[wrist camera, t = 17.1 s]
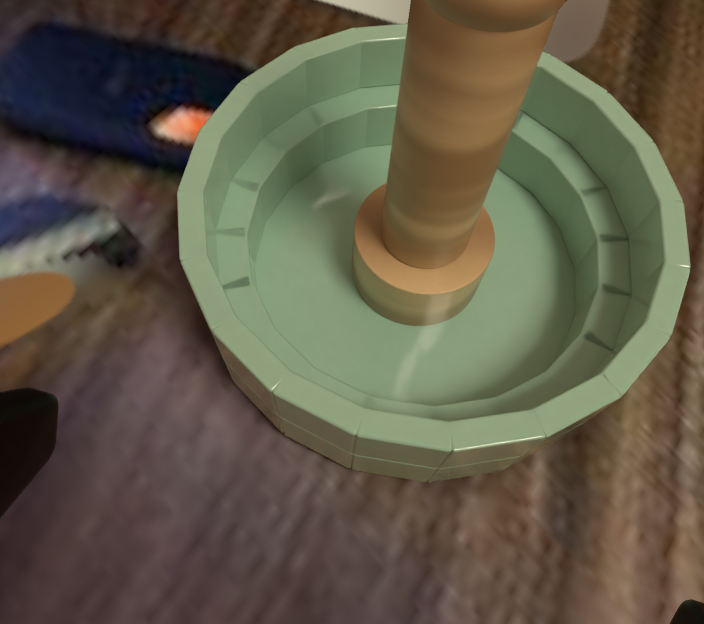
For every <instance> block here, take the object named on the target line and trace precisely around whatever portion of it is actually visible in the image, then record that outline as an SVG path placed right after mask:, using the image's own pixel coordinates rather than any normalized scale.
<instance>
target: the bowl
mask: <svg viewBox="0 0 704 624" xmlns="http://www.w3.org/2000/svg"><path fill="white" fill-rule="evenodd" d="M407 27H408V23H407V24H394V25H382V26H370V27H357V28H356V29H355V28H351V29H348V30H345V31H342V32H338V33H335V34H332V35H329V36H326V37H323V38H320V39H317V40H314V41H311V42H308V43H304V44H301V45H298V46H295V47H293V48H291V49H290V50H288V51H287V52H285V53H284V54H282V55H281V56H279V57H277V58H276V59H274V60H273V61H271V62H270V63H268V64H267V65H265V66H264V67H262V68H260V69H259V70H257V71H256V72H254V73H253V74H251V75H250V76H248V77H247V78H245V79H243V80H242V81H241V82H240V83H238V84H237V86H236V87H235V88H234V89H233V90H232V92H231V93H230V94H229V95H228V96H227V98H226V99H225V100H224V101H223V103H222V104H221V105H220V106H219V107H218V109H217V110H216V111H215V112H214V113H213V115H212V116H211V117H210V118H209V119H208V121H207V122H206V123H205V124H204V125H203V127H202V128H201V129H200V131H199V132H198V135H197V138H196V141H195V143H194V146H193V149H192V152H191V155H190V157H189V160H188V163H187V166H186V169H185V171H184V174H183V177H182V180H181V183H180V185H179V188H178V192H177V208H178V235H179V259H180V262H181V265H182V268H183V270H184V272H185V274H186V277H187V279H188V281H189V283H190V286H191V288H192V290H193V292H194V295H195V297H196V299H197V301H198V304H199V306H200V308H201V311H202V313H203V315H204V317H205V320H206V322H207V324H208V326H209V329H210V331H211V333H212V335H213V337H214V340H215V342H216V344H217V346H218V349H219V351H220V353H221V355H222V357H223V360H224V362H225V364H226V366H227V369H228V371H229V373H230V375H231V377H232V380H233V381H234V382H235V384H236V385H237V386H238V387H239V388H240V389H241V390H242V392H243V393H244V394H245V395H246V396H247V397H248V398H249V399H250V400H251V401H252V402H253V403H254V404H255V405H256V406H257V407H258V408H259V409H260V410H261V411H262V413H263V414H264V415H265V416H266V417H267V418H268V419H269V420H270V421H271V422H272V423H273V424H274V425H275V426H276V427H277V428H278V429H279V430H280V431H281V432H282V433H284V434H285V435H286V436H288V437H290V438H292V439H293V440H295V441H297V442H299V443H301V444H303V445H305V446H307V447H309V448H311V449H312V450H314V451H316V452H318V453H320V454H322V455H324V456H326V457H328V458H330V459H332V460H333V461H335V462H337V463H339V464H341V465H343V466H345V467H347V468H351V469H352V470H356V471H362V472H368V473H374V474H380V475H386V476H392V477H398V478H404V479H410V480H416V481H422V482H427V481H428V482H434V481H440V480H447V479H453V478H459V477H465V476H472V475H478V474H484V473H491V472H497V471H501V470H502V469H506V468H508V467H510V466H512V465H514V464H515V463H517V462H519V461H521V460H523V459H525V458H526V457H528V456H530V455H532V454H534V453H536V452H537V451H539V450H541V449H543V448H545V447H547V446H548V445H550V444H552V443H554V442H556V441H557V440H559V439H561V438H563V437H564V436H566V435H567V434H569V433H570V432H572V431H573V430H574V429H576V428H577V427H579V426H580V425H582V424H583V423H585V422H586V421H587V420H589V419H591V418H592V417H594V416H595V415H596V414H598V413H599V412H601V411H602V410H604V409H605V408H607V407H608V406H609V405H611V404H612V403H614V402H615V401H617V400H618V399H620V398H621V397H622V396H623V395H624V394H625V393H626V392H627V390H628V389H629V388H630V387H631V385H632V384H633V383H634V382H635V381H636V379H637V378H638V377H639V376H640V375H641V373H642V372H643V371H644V370H645V369H646V367H647V366H648V365H649V364H650V362H651V361H652V360H653V359H654V358H655V356H656V355H657V354H658V353H659V352H660V350H661V349H662V348H663V347H664V346H665V344H666V343H667V342H668V341H669V339H670V336H671V335H672V332H673V329H674V325H675V322H676V318H677V315H678V311H679V308H680V305H681V301H682V298H683V294H684V291H685V287H686V284H687V281H688V277H689V274H690V266H691V265H690V256H689V247H688V238H687V229H686V220H685V210H684V203H683V202H682V198H681V195H680V193H679V191H678V189H677V187H676V185H675V183H674V181H673V179H672V177H671V175H670V173H669V171H668V169H667V167H666V165H665V163H664V161H663V159H662V157H661V154H660V152H659V150H658V148H657V146H656V144H655V143H654V142H653V140H652V139H651V137H650V136H649V135H648V134H647V133H646V132H645V131H644V130H643V129H642V128H641V127H640V126H639V124H638V123H637V122H636V121H635V120H634V119H633V118H632V117H631V116H630V115H629V114H628V113H627V111H626V110H625V109H624V108H623V107H622V106H621V105H620V104H619V103H618V102H617V101H616V100H615V98H614V97H613V96H612V95H611V94H610V93H607V91H606V90H605V89H603V88H602V87H600V86H599V85H597V84H596V83H594V82H593V81H591V80H590V79H588V78H587V77H585V76H583V75H582V74H580V73H579V72H577V71H576V70H574V69H573V68H571V67H570V66H568V65H566V64H565V63H563V62H562V61H560V60H559V59H557V58H556V57H554V56H550V54H548V53H545V52H543V51H542V54H541V56H540V59H539V62H538V64H537V67H536V69H535V72H534V75H533V77H532V80H531V82H530V85H529V87H528V90H527V93H526V95H525V98H524V100H523V103H522V105H521V108H520V111H519V113H518V116H517V118H516V121H515V124H514V126H513V129H512V131H511V134H510V136H509V139H508V142H507V144H506V147H505V149H504V152H503V155H502V157H501V160H500V162H499V165H498V167H497V170H496V173H495V175H494V178H493V180H492V183H491V186H490V188H489V191H488V193H487V196H486V198H485V201H484V204H483V206H484V207H485V209H486V211H487V212H488V214H489V216H490V218H491V221H492V224H493V227H494V232H495V247H494V253H493V256H492V258H491V261H490V263H489V265H488V267H487V269H486V271H485V274H484V276H483V278H482V280H481V282H480V284H479V286H478V288H477V290H476V293H475V294H474V296H473V298H472V300H471V301H470V303H469V304H468V305H467V306H466V307H465V308H464V309H463V310H462V311H461V312H460V313H459V314H457V315H456V316H454V317H452V318H451V319H449V320H446V321H444V322H441V323H438V324H434V325H427V326H412V325H405V324H401V323H397V322H394V321H392V320H389V319H387V318H385V317H383V316H382V315H380V314H379V313H377V312H376V311H374V310H373V309H372V308H371V307H370V306H369V305H368V304H367V303H366V302H365V301H364V300H363V298H362V297H361V295H360V294H359V292H358V290H357V288H356V286H355V283H354V280H353V276H352V249H353V233H354V223H355V218H356V215H357V212H358V210H359V208H360V206H361V204H362V203H363V202H364V200H365V199H366V198H367V197H368V196H369V195H370V193H372V192H373V191H374V190H375V189H376V188H378V187H380V186H381V185H383V184H385V183H387V176H388V168H389V161H390V153H391V146H392V138H393V131H394V124H395V116H396V109H397V101H398V94H399V86H400V79H401V71H402V64H403V57H404V49H405V42H406V34H407Z"/></svg>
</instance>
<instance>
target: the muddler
mask: <svg viewBox="0 0 704 624" xmlns="http://www.w3.org/2000/svg"><path fill="white" fill-rule="evenodd" d="M566 1H567V0H411V4H410V12H409V19H408V27H407V34H406V42H405V49H404V57H403V64H402V71H401V79H400V86H399V94H398V101H397V109H396V116H395V124H394V131H393V138H392V146H391V153H390V161H389V168H388V176H387V183H385V184H383V185H381V186H380V187H378V188H376V189H375V190H374V191H373V192H372V193H370V195H369V196H368V197H367V198H366V199H365V200H364V202H363V203H362V204H361V206H360V208H359V210H358V212H357V215H356V218H355V223H354V233H353V249H352V276H353V280H354V283H355V286H356V288H357V290H358V292H359V294H360V295H361V297H362V298H363V300H364V301H365V302H366V303H367V304H368V305H369V306H370V307H371V308H372V309H373V310H374V311H376V312H377V313H379V314H380V315H382V316H383V317H385V318H387V319H389V320H392V321H394V322H397V323H401V324H405V325H412V326H427V325H434V324H438V323H441V322H444V321H446V320H449V319H451V318H452V317H454V316H456V315H457V314H459V313H460V312H461V311H462V310H463V309H464V308H465V307H466V306H467V305H468V304H469V303H470V301H471V300H472V298H473V296H474V294H475V293H476V290H477V288H478V286H479V284H480V282H481V280H482V278H483V276H484V274H485V271H486V269H487V267H488V265H489V263H490V261H491V258H492V256H493V253H494V247H495V232H494V227H493V224H492V221H491V218H490V216H489V214H488V212H487V211H486V209H485V207H484V206H483V204H484V201H485V198H486V196H487V193H488V191H489V188H490V186H491V183H492V180H493V178H494V175H495V173H496V170H497V167H498V165H499V162H500V160H501V157H502V155H503V152H504V149H505V147H506V144H507V142H508V139H509V136H510V134H511V131H512V129H513V126H514V124H515V121H516V118H517V116H518V113H519V111H520V108H521V105H522V103H523V100H524V98H525V95H526V93H527V90H528V87H529V85H530V82H531V80H532V77H533V75H534V72H535V69H536V67H537V64H538V62H539V59H540V56H541V54H542V51H543V48H544V46H545V44H546V41H547V38H548V36H549V33H550V31H551V28H552V25H553V23H554V20H555V18H556V15H557V12H558V10H559V9H560V8H561V7H562V5H563V4H564V3H565V2H566Z"/></svg>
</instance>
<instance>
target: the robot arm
mask: <svg viewBox="0 0 704 624" xmlns="http://www.w3.org/2000/svg"><path fill="white" fill-rule="evenodd" d="M57 419H58V400H57V398H56V397H55V396H54V395H53V394H50V393H47V392H44V391H41V390H37V389H34V388H21V389H15V390H10V391H4V392H0V518H1V517H2V516H3V515H4V513H5V512H6V511H7V510H8V509H9V507H10V506H11V505H12V504H13V502H14V501H15V500H16V499H17V498H18V496H19V495H20V494H21V493H22V492H23V490H24V489H25V488H26V487H27V486H28V484H29V483H30V482H31V481H32V480H33V478H34V477H35V476H36V475H37V473H38V472H39V471H40V470H41V469H42V467H43V466H44V465H45V464H46V463H47V461H48V460H49V458H50V457H51V455H52V453H53V451H54V448H55V443H56V432H57ZM670 624H704V603H702V602H698V601H695V600H686V601H684V602H683V603H682V604H681V605H680V606H679V608H678V610H677V611H676V613H675V615H674V617H673V619H672V621H671V622H670Z"/></svg>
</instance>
